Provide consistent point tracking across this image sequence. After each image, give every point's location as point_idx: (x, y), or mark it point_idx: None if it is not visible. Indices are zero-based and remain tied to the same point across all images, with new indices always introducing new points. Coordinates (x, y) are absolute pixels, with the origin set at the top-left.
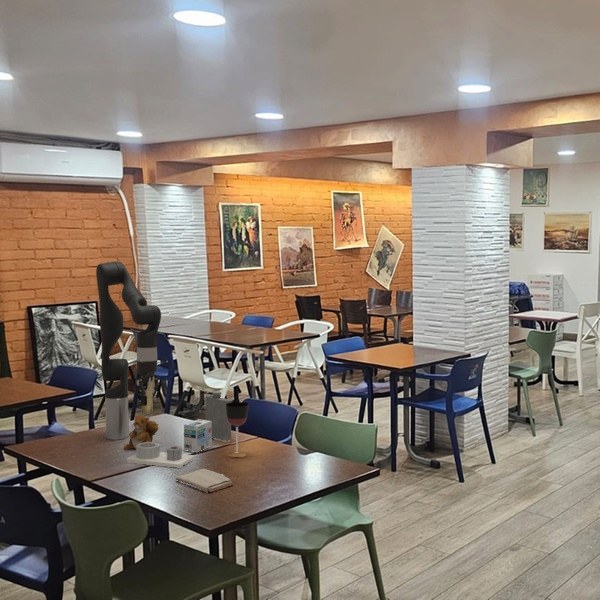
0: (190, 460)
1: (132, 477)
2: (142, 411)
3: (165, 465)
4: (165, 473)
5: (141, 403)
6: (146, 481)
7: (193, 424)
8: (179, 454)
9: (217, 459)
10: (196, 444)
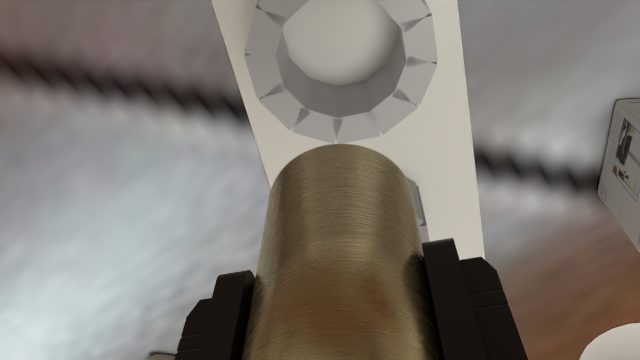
0: None
1: (44, 175)
2: (268, 203)
3: None
4: (203, 261)
5: (191, 320)
6: (60, 262)
7: None
8: None
9: (529, 325)
10: (620, 220)
